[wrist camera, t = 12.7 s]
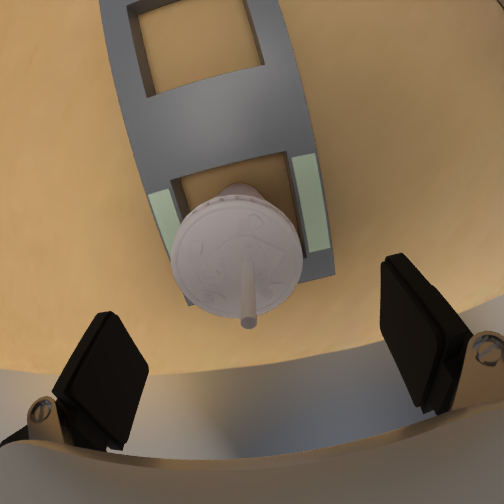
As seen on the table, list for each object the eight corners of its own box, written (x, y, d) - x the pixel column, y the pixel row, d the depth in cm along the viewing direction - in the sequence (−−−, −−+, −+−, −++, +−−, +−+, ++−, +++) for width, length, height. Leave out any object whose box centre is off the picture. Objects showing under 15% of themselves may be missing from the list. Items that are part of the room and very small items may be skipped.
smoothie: (290, 231, 23) (336, 362, 11) (214, 253, 24) (188, 394, 11) (268, 154, 21) (304, 212, 8) (186, 180, 21) (109, 272, 9)
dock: (257, -36, 14) (258, -52, 11) (327, 260, 25) (336, 276, 22) (111, 7, 15) (97, -2, 12) (192, 289, 26) (187, 307, 23)
